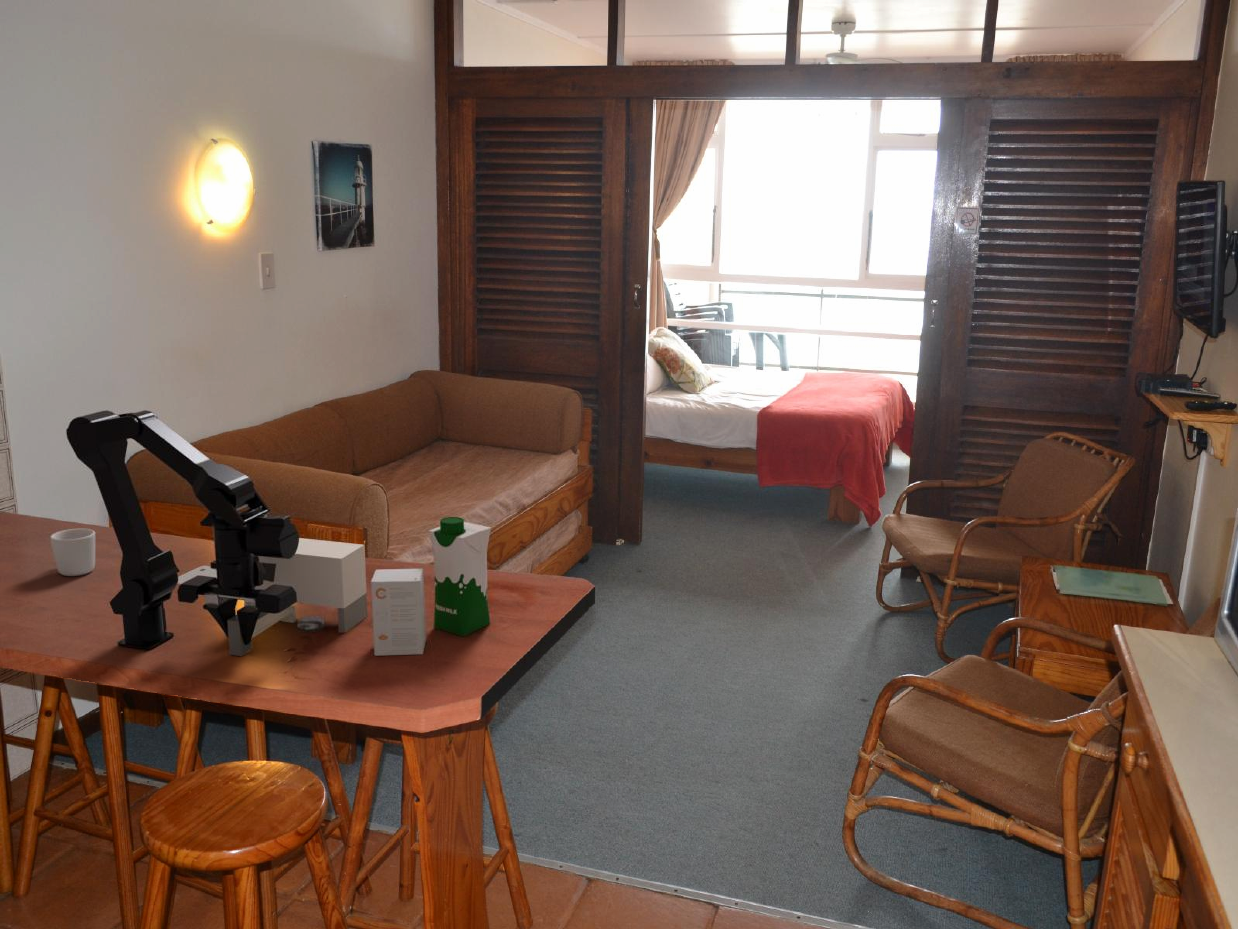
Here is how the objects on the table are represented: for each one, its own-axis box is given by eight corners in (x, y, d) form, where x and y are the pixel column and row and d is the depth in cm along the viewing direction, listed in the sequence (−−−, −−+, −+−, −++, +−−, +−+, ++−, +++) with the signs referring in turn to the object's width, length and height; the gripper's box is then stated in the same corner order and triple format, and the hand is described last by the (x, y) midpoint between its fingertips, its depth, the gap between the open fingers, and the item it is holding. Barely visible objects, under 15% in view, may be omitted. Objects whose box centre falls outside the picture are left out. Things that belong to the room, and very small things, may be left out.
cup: (56, 564, 216) (51, 526, 214) (99, 559, 219) (95, 522, 217) (53, 581, 206) (48, 542, 204) (98, 576, 209) (94, 537, 208)
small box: (426, 640, 181) (424, 567, 178) (423, 655, 175) (421, 580, 172) (378, 641, 180) (375, 568, 177) (373, 656, 174) (370, 581, 171)
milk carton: (426, 628, 186) (423, 519, 181) (460, 612, 193) (458, 507, 189) (464, 639, 181) (462, 527, 177) (498, 623, 189) (496, 515, 184)
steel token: (315, 635, 183) (314, 627, 183) (292, 632, 184) (291, 624, 184) (328, 625, 187) (328, 617, 187) (306, 622, 188) (305, 614, 188)
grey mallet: (242, 656, 173) (239, 621, 172) (229, 654, 174) (226, 620, 172) (295, 621, 188) (293, 589, 186) (283, 619, 188) (281, 587, 187)
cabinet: (345, 633, 183) (341, 558, 180) (253, 621, 188) (248, 548, 185) (367, 616, 191) (364, 544, 188) (279, 605, 195) (274, 535, 192)
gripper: (312, 543, 176) (317, 631, 180) (214, 533, 181) (221, 619, 184) (274, 564, 165) (280, 657, 169) (171, 552, 170) (179, 643, 174)
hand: (240, 643), depth 174 cm, fingers closed on grey mallet, 2 cm apart
